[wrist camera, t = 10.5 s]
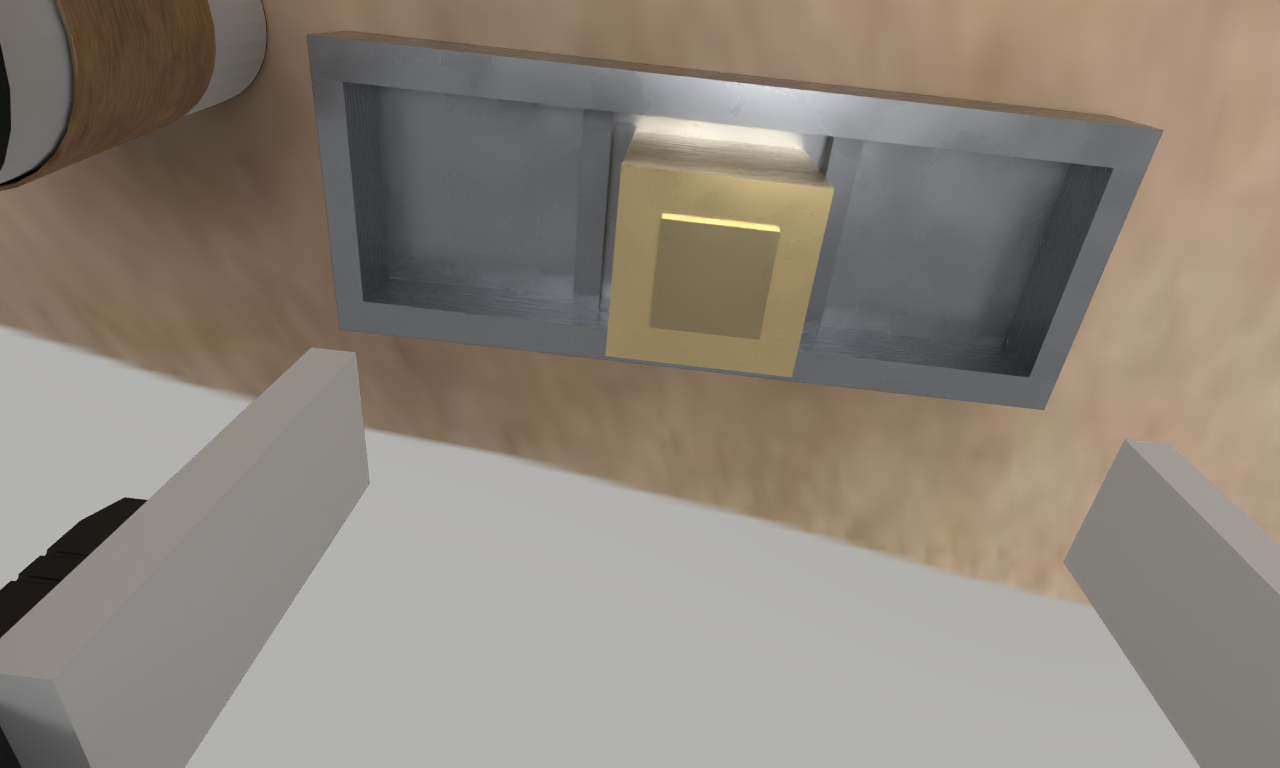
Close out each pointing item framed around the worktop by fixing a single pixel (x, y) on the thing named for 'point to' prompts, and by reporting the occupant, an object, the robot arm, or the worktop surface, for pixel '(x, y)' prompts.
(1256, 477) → the worktop surface
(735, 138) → the grey divided tray
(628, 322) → the recessed panel cube
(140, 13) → the coffee cup
